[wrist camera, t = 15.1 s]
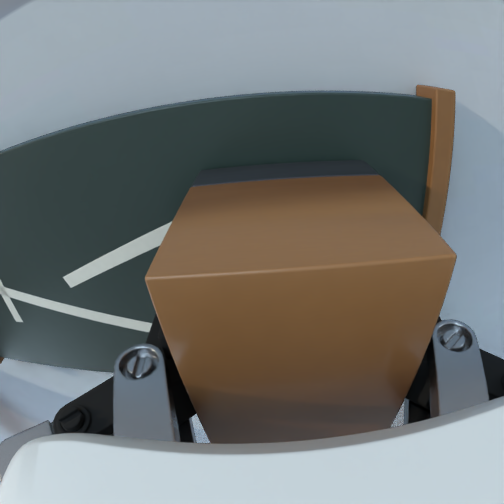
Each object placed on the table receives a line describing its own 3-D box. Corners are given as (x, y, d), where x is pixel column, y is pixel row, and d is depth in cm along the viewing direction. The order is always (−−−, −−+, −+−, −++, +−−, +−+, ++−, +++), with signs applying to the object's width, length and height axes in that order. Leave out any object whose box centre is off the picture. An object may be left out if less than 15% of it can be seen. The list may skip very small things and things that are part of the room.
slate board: (-76, 179, 10) (-92, 190, 9) (434, 86, 9) (456, 90, 8) (3, 348, 17) (-6, 362, 16) (393, 347, 15) (402, 369, 14)
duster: (199, 169, 9) (142, 278, 5) (364, 159, 9) (458, 255, 4) (232, 353, 14) (223, 470, 9) (346, 344, 13) (373, 457, 9)
